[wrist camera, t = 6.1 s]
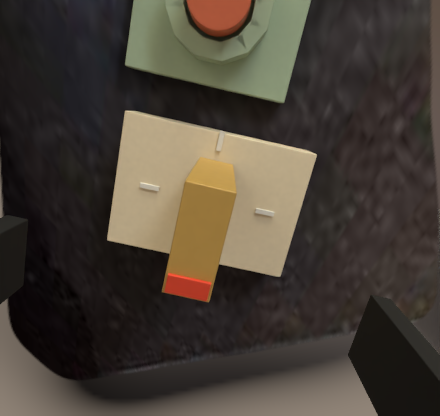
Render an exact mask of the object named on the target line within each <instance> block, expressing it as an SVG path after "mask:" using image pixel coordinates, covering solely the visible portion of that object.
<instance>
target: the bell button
mask: <svg viewBox="0 0 440 416" xmlns="http://www.w3.org/2000/svg"><path fill="white" fill-rule="evenodd" d="M187 5H188V8H189V11H190V14H191V17H192V19H193V21H194V22H195V24H196V25H197V26H198V28H199V29H200V30H202V31H203V32H204V33H206V34H208V35H211V36H215V37H224V36H228V35H230V34H233V33H234V32H236V31H237V30H238V29H239V28H240V27H241V26H242V25H243V24H244V22H245V20H246V19H247V16H248V13H249V9H250V5H251V0H187Z"/></svg>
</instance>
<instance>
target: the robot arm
mask: <svg viewBox="0 0 440 416" xmlns="http://www.w3.org/2000/svg"><path fill="white" fill-rule="evenodd" d="M27 227H28V219H23V218H18V217H14V216H9V215H6V216H4V217H2V218H0V304H1V303H2V302H3V301H5V300H6V299H7V298H8V297H10V296H11V295H12V294H13V293H15V292H16V291H17V290H18V289H19V288H21V287H22V286H23V281H24V267H25V254H26V241H27ZM348 356H349V358H350V360H351V362H352V364H353V366H354V368H355V370H356V372H357V374H358V376H359V378H360V380H361V382H362V384H363V386H364V388H365V390H366V392H367V394H368V396H369V398H370V400H371V402H372V404H373V406H374V408H375V410H376V412H377V414H378V416H440V355H439V353H438V352H437V351H436V350H435V349H434V348H433V347H432V346H431V344H430V343H429V342H428V341H427V340H426V339H425V338H424V336H423V335H422V334H421V333H420V332H419V331H418V330H417V329H416V327H415V326H414V325H413V324H412V323H411V322H410V321H409V320H408V318H407V317H406V316H405V315H404V314H403V313H402V312H401V310H400V309H399V308H398V307H397V306H396V305H395V304H394V303H393V301H392V300H391V299H388V298H383V297H379V296H374V295H371V296H370V299H369V301H368V304H367V307H366V309H365V312H364V314H363V317H362V320H361V322H360V325H359V327H358V330H357V333H356V335H355V338H354V340H353V343H352V346H351V348H350V351H349V353H348Z"/></svg>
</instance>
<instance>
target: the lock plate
mask: <svg viewBox="0 0 440 416" xmlns="http://www.w3.org/2000/svg"><path fill="white" fill-rule="evenodd" d="M200 157H203V158H207V159H211V160H216V161H220V162H224V163H228V164H232V165H233V168H234V176H235V183H236V191H237V195H236V199H235V203H234V207H233V211H232V215H231V219H230V223H229V227H228V230H227V234H226V238H225V242H224V246H223V250H222V254H221V258H220V262H219V264H220V265H225V266H230V267H234V268H239V269H244V270H248V271H253V272H258V273H263V274H267V275H272V276H277V277H280V276H281V273H282V269H283V266H284V263H285V259H286V256H287V253H288V249H289V246H290V243H291V239H292V236H293V233H294V229H295V226H296V223H297V220H298V216H299V213H300V210H301V206H302V203H303V200H304V196H305V193H306V190H307V186H308V183H309V180H310V176H311V173H312V170H313V166H314V163H315V160H316V157H317V155H316V154H314V153H312V152H310V151H307V150H304V149H299V148H295V147H291V146H286V145H282V144H277V143H273V142H269V141H264V140H260V139H256V138H251V137H247V136H243V135H238V134H234V133H230V132H225V131H221V130H217V129H212V128H208V127H204V126H199V125H195V124H191V123H186V122H182V121H178V120H173V119H169V118H165V117H160V116H156V115H152V114H147V113H143V112H139V111H125V115H124V122H123V129H122V137H121V144H120V151H119V158H118V165H117V172H116V179H115V187H114V194H113V201H112V208H111V215H110V222H109V229H108V236H107V240H108V241H112V242H117V243H122V244H127V245H131V246H136V247H141V248H145V249H150V250H155V251H159V252H164V253H169V254H170V250H171V245H172V240H173V236H174V231H175V226H176V221H177V217H178V212H179V207H180V202H181V197H182V193H183V188H184V183H185V181H186V179H187V177H188V176H189V174H190V172H191V171H192V169H193V167H194V166H195V164H196V163H197V161H198V159H199V158H200Z"/></svg>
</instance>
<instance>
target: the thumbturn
mask: <svg viewBox="0 0 440 416" xmlns="http://www.w3.org/2000/svg"><path fill="white" fill-rule="evenodd" d="M236 195H237V191H236V183H235V176H234V168H233V165H232V164H228V163H224V162H220V161H216V160H211V159H207V158H203V157H200V158H199V159H198V161H197V163H196V164H195V166H194V167H193V169H192V171H191V172H190V174H189V176H188V177H187V179H186V181H185V183H184V188H183V193H182V197H181V202H180V207H179V212H178V217H177V221H176V226H175V231H174V236H173V240H172V245H171V250H170V255H169V259H168V264H167V269H166V274H165V278H164V283H163V288H162V292H163V293H168V294H172V295H177V296H181V297H186V298H191V299H195V300H200V301H204V302H209V301H210V297H211V293H212V289H213V285H214V281H215V277H216V273H217V270H218V266H219V262H220V258H221V254H222V250H223V246H224V242H225V238H226V234H227V230H228V227H229V223H230V219H231V215H232V211H233V207H234V203H235V199H236Z"/></svg>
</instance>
